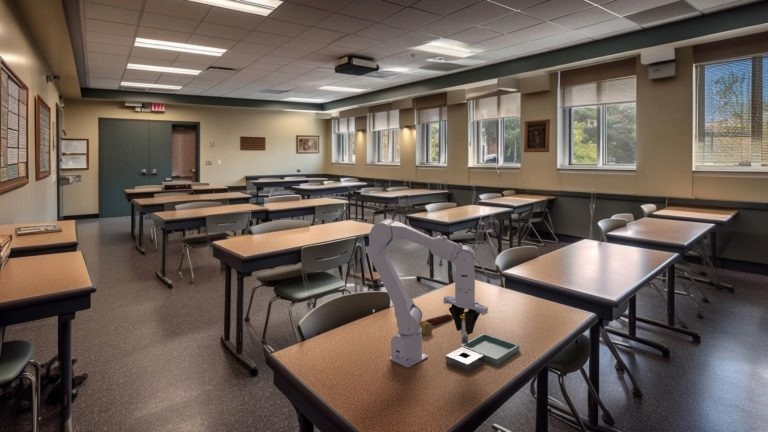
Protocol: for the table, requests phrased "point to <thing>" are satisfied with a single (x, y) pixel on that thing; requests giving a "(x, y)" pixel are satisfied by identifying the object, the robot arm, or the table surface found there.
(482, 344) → the tray
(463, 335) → the steel pin
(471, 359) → the block
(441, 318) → the gavel
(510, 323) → the table surface
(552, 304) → the table surface
